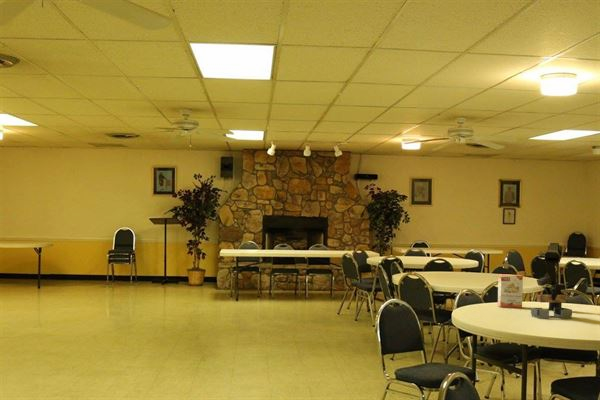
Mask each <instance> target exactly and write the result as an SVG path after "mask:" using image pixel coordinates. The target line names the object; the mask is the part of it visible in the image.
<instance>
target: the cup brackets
mask: <svg viewBox="0 0 600 400" xmlns="http://www.w3.org/2000/svg"><path fill="white" fill-rule="evenodd" d="M530 314H531V317H533V318H536V319H538V320H539V319H540V318H541V319H542V318H543V320H548V319H563V320H567V319H568V320H569V319H572V316H573V309H571V308H567V307H562V308H554V311H553V315H550V310H549V309H543V307H531V308H530ZM544 318H545V319H544ZM541 319H540V320H541Z"/></svg>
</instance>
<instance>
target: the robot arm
mask: <svg viewBox="0 0 600 400" xmlns="http://www.w3.org/2000/svg"><path fill="white" fill-rule="evenodd" d="M563 256H564V247H563V246H562V245H560V242H559V243H558V242H550V243H549V245H548V247H547V250H546V252H545V253H544V260H543V262H544V264H546V265H545V267H544V270H545V273H546V274H544V277H541V278H538V279H536V283H537V285H538V286H541V287H542V288H543V289H544V290H545V293H546V295H552V300H555V299H556V297H557V295H565V293H564V292H563V290H567V289H566V284H564V283H560V263H561V260H562V257H563ZM562 303H563V302H548V310H549V311H552V312H554V308H563V307H562Z"/></svg>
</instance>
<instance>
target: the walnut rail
mask: <svg viewBox="0 0 600 400" xmlns="http://www.w3.org/2000/svg"><path fill="white" fill-rule="evenodd" d="M536 302H537V303H549V302H562V303H567V295H566V294H564V295H557V297H556V299H555V300H552V295H547V294H536Z"/></svg>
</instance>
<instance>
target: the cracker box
mask: <svg viewBox="0 0 600 400" xmlns="http://www.w3.org/2000/svg"><path fill="white" fill-rule="evenodd" d="M523 277H524V276H523V275H520V274H507V273H506V274H504V273H503V274H502V273H500V274H498V283H497V286H498V287H497V307H499V308H511V309H512V308H513V309H522V308H523V285H524V284H523V283H524V282H523V281H524V280H523V279H524V278H523Z"/></svg>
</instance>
